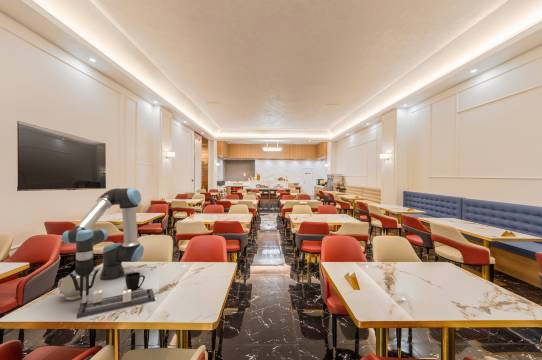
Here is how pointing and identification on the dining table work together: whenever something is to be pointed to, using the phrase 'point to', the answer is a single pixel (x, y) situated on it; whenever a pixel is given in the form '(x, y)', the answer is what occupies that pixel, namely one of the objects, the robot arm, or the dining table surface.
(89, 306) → the console
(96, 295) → the fader
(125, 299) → the fader
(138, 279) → the mug
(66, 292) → the teapot
